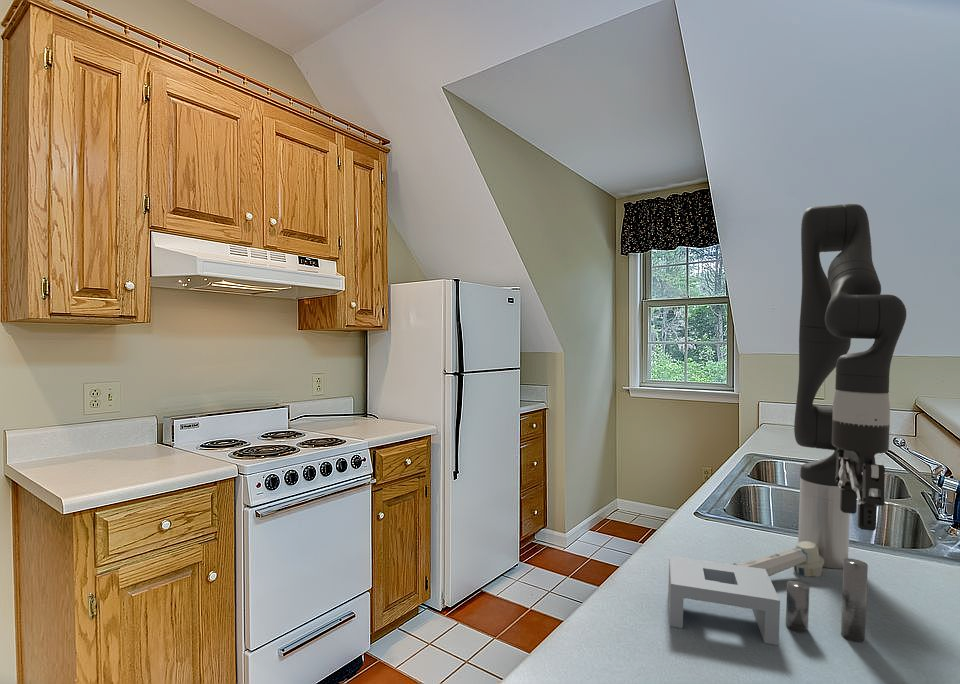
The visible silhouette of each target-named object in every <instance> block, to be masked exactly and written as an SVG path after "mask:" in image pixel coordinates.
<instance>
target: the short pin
mask: <svg viewBox="0 0 960 684" xmlns="http://www.w3.org/2000/svg"><path fill="white" fill-rule="evenodd" d="M785 601H786V605H785V627H786V628H787V629H788V630H790V631H793V632H796V633H800V634H801V633H802V634H804V633H808V631H809V609H810V586H809V585H808V584H806V583H804V582H801V581H797V580H788V581H787V582H786V600H785Z"/></svg>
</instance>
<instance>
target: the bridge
mask: <svg viewBox="0 0 960 684" xmlns="http://www.w3.org/2000/svg"><path fill="white" fill-rule="evenodd" d="M668 561H669V562H668V585H667V586H668V590H667V591H668V597H667V598H668V616H669V618H668V619H669V620H668V621H669V626H670V627H673V628H679V629H683V627H684V599H686V600H687V599H688V600H695V601H700V602H706V603H713V604H719V605H726V606H732V607H737V608H744V609H749V610H752V612H753V615H754V617H755V619H756V622H757V626H758V628H759V631H760V635H761V638H762V640H763V643H764V644H768V645H770V644H771V645H775V646H779V644H780V643H779V641H780V617H781V616H780V615H781V611H780V610H781V600H780V598H779V595H778V593H777V591H776V589H775V587H774V584H773V583H772V580H771V578H770V576H768V573H767V571H766V569H761V568H754V567H746V566H739V565H733V564H730V563H726V562H725V563H723V562H716V561H710V560H702V559H695V558H688V557H682V556H676V555H675V556H673V555H669V557H668ZM721 582H724V583H721ZM728 583H731V584H728Z"/></svg>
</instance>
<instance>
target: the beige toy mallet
mask: <svg viewBox="0 0 960 684" xmlns="http://www.w3.org/2000/svg"><path fill="white" fill-rule="evenodd" d="M823 564H824V559H823V558H822V556H820V555H819V552H818V548H817V546H816V545H815V543H812V542H808V541H802V542H799V543H798V542H797V544H796V545H795V548H790V549H786V550H783V551H779V552H775V553H773V554H769V555H766V556H762V557H759V558H755V559H752V560H751V559H750V560H748V561H744V562H741V563H737V562H734V563H733V564H732V565H739V566H746V567H754V568H761V569H766V571H767V573H768V576H769V577H771V576H773V575H776V574H778V573H782V572H784V571H786V570H789V569H791V568H793V571H794V572H795V573H796V574H798V575H800V576H802V577H807V578H808V577H809V578H810V577H815V578H818V577H820V576H822V573H823V567H822V566H823ZM721 583H724V582H721ZM728 584H731V583H728Z"/></svg>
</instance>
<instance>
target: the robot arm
mask: <svg viewBox="0 0 960 684" xmlns="http://www.w3.org/2000/svg"><path fill="white" fill-rule="evenodd" d="M869 221H870V220H869V217H868V213H867V211H866V209H865V208H864V206H862V205H860V204H857V203H845V204H833V205H831V204H830V205H819V206H812V207H808V208H806V209H805V211H804V212H803V215H802V219H801V225H800V226H801V227H800V236H801V237H800V242H801V243H800V246H801V249H800V250H801V283H802V284H801V298H800V299H801V301H800V314H799V315H800V316H799V325H798V326H799V330H798V331H799V333H798V383H797V395H796V403H795V411H794V412H795V413H794V422H793V423H794V424H793V425H794V427H793V431H794V438H795V441H796V443H797V445H798V446H800V447H804V448H811V449H821V450H828V451H833V453H832V454H830V456H827V457H825V458H823V459H819V460H814V461H809V462H806V463H803V464H802V465H801V467H800V470H799V471H800V477H799V478H800V480H799V509H798V511H799V512H798V539H797V540H798V541H797V544H798V543H799V542H802V541H808V542H812V543H815V545H816V546H817V548H818V552H819V555H820V556H822V558H823V559H824V564H823V566H822V568H829V569H843V563H844V559H847V558H849V547H850V525H851V524H850V521H851V519H850V515H852V514H853V515H854V514H856V513H857V527H858V528H859V529H860V530H862V531H863V530H865V531H871V532H873V531H875V530H876V529H877V513H878V510H877V509H878V507H880V506H881V507H882V506H884V505H885V485H886V484H885V483H886V481H885V478H886V477H885V476H886V475H885V474H886V472H885V471H886V469H885V466H884V464H877V463H876V457H875V456H876V455H877V454H885V453H887V452H889V449H890V426H891V425H890V423H891V403H890V394H889V393H890V371H891V365H892V364H891V363H892V359H893V357H894V352H895V349H896V347H897V343H898V341H899V338H900V336H901V334H902V331H903V329H904V326H905V324H906V321H907V307H906V306H905V303H904V302H903V300H902V299H900V297H898V296H896V295H894V294H882V285H881V281H880V280H879V277H878V274H877V271H876V267H875V265H874V261H873V251H872V239H871V231H870V222H869ZM828 252H831V253H834V252H839V253H838V254H837V255H836V256H835V257H834V258H833V259H832V261H831V262H830V265H829V267H828V270H827V275H826V273H825V271H824V268H823V266H822V262H821V258H820V254H821V253H828ZM852 339H860V340H861V339H867V340H872V339H873V340H874V341H873V344H872V345H871V346H870V347H869V348H868V349H866V350H865V351H860V352H859V351H858V352H853V353H852V352H851V353H848V352H849V351H850V348H851V345H852ZM834 370H835V384H834V385H835V387H834V389H835V390H834V396H833V397H834V398H833V402H832V406H831V405H829V406H827V405H815V404H814V402H815V401H814V400H815V398H816V395H817V393H818V391H819V390H820V388H821V386H822V385H823V383H824V381H826V379H827V378H828V377H829V375H830V374H831V373H832V372H833V371H834ZM870 494H871V495H870Z"/></svg>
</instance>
